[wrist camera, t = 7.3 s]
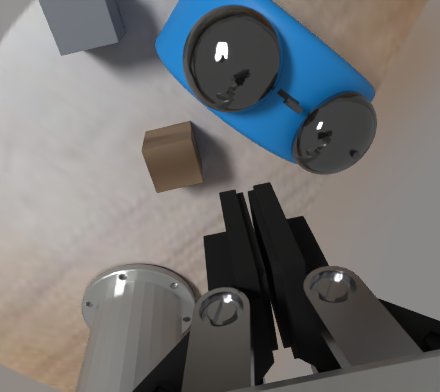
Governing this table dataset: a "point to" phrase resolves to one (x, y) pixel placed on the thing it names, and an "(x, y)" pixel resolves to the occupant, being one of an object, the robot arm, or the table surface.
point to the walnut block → (172, 157)
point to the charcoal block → (83, 23)
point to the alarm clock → (271, 81)
